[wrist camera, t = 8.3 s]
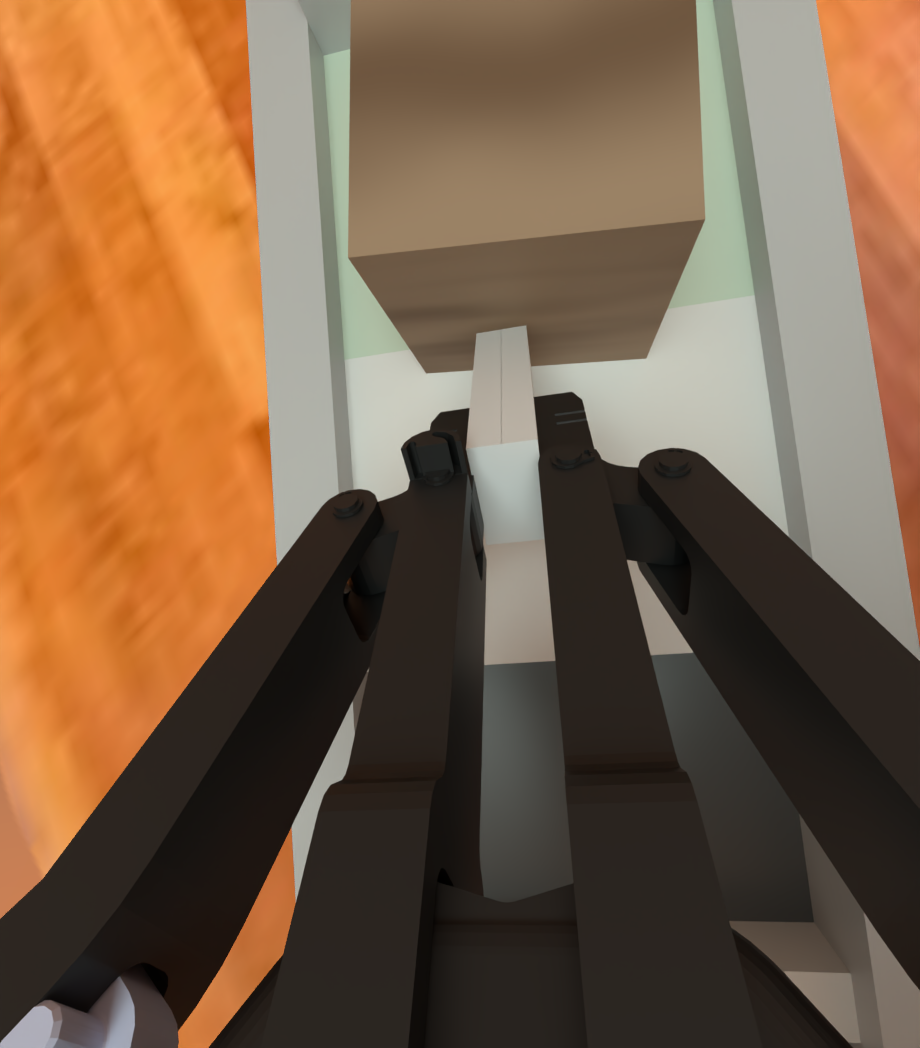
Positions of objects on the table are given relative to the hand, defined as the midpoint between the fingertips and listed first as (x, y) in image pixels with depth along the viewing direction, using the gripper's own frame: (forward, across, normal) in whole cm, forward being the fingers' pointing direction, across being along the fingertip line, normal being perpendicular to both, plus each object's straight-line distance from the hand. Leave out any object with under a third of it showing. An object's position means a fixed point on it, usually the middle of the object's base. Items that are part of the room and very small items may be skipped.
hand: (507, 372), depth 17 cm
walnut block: (+6, +1, +2) cm, 6 cm away
